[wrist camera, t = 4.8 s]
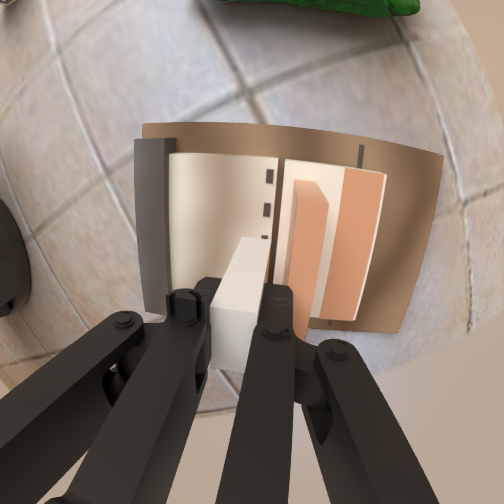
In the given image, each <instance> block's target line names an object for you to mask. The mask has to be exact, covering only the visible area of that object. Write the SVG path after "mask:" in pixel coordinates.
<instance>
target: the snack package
mask: <svg viewBox="0 0 504 504" xmlns="http://www.w3.org/2000/svg"><path fill="white" fill-rule="evenodd" d="M220 1H269V2H280V3H287V4H293V5H299V6H305V7H315V8H321V9H327V10H334V11H341V12H347V13H352V14H357V15H361V16H366V17H378V18H385V17H392V16H409V15H413V14H416V13H418V12H419V10H420V2H419V0H220Z"/></svg>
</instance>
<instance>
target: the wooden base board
mask: <svg viewBox="0 0 504 504" xmlns="http://www.w3.org/2000/svg"><path fill="white" fill-rule="evenodd" d="M443 158H444V155H440V154H436V153H433V152H429V151H425V150H421V149H417V148H413V147H409V146H405V145H401V144H396V143H391V142H387V141H382V140H377V139H372V138H367V137H361V136H355V135H349V134H343V133H337V132H330V131H323V130H315V129H307V128H298V127H288V126H277V125H265V124H249V123H225V122H170V123H147V124H143V125H142V139H134V187H135V212H136V229H137V243H138V254H139V265H140V274H141V283H142V291H143V299H144V306H145V312H150V313H155V314H161V315H167V308H166V297H165V295H167V294H168V293H169V292H171V291H173V290H176V289H181V288H190V289H194V287H195V285H196V284H197V282H198V281H199V280H201V279H202V278H204V277H206V276H207V277H214V278H222V279H223V277H224V274H225V272H226V270H227V268H228V266H229V264H230V261H231V259H232V257H233V255H234V253H235V251H236V248H237V246H238V244H239V242H240V240H241V238H242V237H249V238H259V239H268V240H271V249H270V258H269V268H268V278H267V283H270V284H273V279H274V269H275V260H276V251H277V241H278V231H279V221H280V211H281V201H282V190H283V179H284V168H285V159H291V160H301V161H309V162H318V163H325V164H333V165H340V166H347V167H353V168H359V169H365V170H371V171H377V172H382V173H384V174H386V175H387V177H386V184H385V191H384V197H383V203H382V208H381V214H380V219H379V224H378V230H377V235H376V239H375V244H374V249H373V253H372V258H371V262H370V266H369V270H368V274H367V278H366V282H365V286H364V290H363V294H362V297H361V301H360V305H359V308H358V312H357V315H356V319H355V320H353V321H345V320H331V319H319V318H317V317H310V318H309V323H308V328H312V329H325V330H340V331H357V332H378V333H398V332H399V329H400V327H401V324H402V321H403V319H404V316H405V313H406V310H407V308H408V305H409V302H410V299H411V296H412V293H413V290H414V287H415V284H416V281H417V277H418V274H419V271H420V267H421V264H422V261H423V257H424V253H425V250H426V246H427V242H428V238H429V234H430V230H431V225H432V221H433V216H434V212H435V207H436V202H437V196H438V191H439V185H440V179H441V172H442V166H443Z"/></svg>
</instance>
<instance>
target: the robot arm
mask: <svg viewBox="0 0 504 504" xmlns="http://www.w3.org/2000/svg"><path fill="white" fill-rule="evenodd" d="M270 249H271V240H268V239H259V238H249V237H242V238H241V240H240V242H239V244H238V246H237V248H236V251H235V253H234V255H233V257H232V259H231V261H230V264H229V266H228V268H227V270H226V272H225V274H224V277H223V279H222V278H214V277H207V276H206V277H204V278H202V279H201V280H199V281H198V282H197V284H196V285H195V287H194V289H190V288H181V289H176V290H173V291H171V292H169V293H168V294H167V295H165V297H166V308H167V318H166V320H165V321H164V322H161V323H143V319H142V317H141V315H139V314H138V313H136V312H133V311H120V312H116V313H114V314H112V315H110V316H109V317H107V318H106V319H105V320H103V321H102V322H100V323H99V324H98V325H96V326H95V327H94V328H92V329H91V330H90V331H88V332H87V333H86V334H84V335H83V336H82V337H80V338H79V339H78V340H76V341H75V342H74V343H72V344H71V345H70V346H68V347H67V348H66V349H64V350H63V351H62V352H60V353H59V354H58V355H56V356H55V357H54V358H52V359H51V360H50V361H49V362H47V363H46V364H45V365H43V366H42V367H41V368H39V369H38V370H37V371H36V372H34V373H33V374H32V375H30V376H29V377H28V378H27V379H25V380H24V381H23V382H22V383H20V384H19V385H18V386H17V387H15V388H14V389H13V390H12V391H10V392H9V393H8V394H7V395H5V396H4V397H3V398H2V399H1V400H0V504H36V503H37V502H38V501H39V500H40V499H41V498H42V497H43V496H44V495H45V494H46V493H47V492H48V491H49V490H50V489H51V488H52V487H53V486H54V485H55V484H56V483H57V482H58V481H59V480H60V479H61V478H62V477H63V476H64V475H65V473H66V472H67V471H68V470H69V469H70V468H71V467H72V466H73V465H74V464H75V463H76V462H77V461H78V460H79V459H80V458H81V457H82V456H83V455H84V454H85V452H86V451H87V450H88V449H89V448H90V449H89V450H88V452H87V454H86V456H85V458H84V460H83V461H82V463H81V465H80V467H79V469H78V471H77V473H76V475H75V477H74V478H73V480H72V482H71V484H70V486H69V488H68V490H67V491H66V493H65V494H64V495H63V496H61V497H56V498H51V499H49V500H48V501H47V502H45V503H44V504H166V502H167V498H168V495H169V492H170V489H171V486H172V483H173V480H174V477H175V474H176V471H177V468H178V465H179V462H180V459H181V456H182V453H183V450H184V447H185V444H186V441H187V438H188V435H189V432H190V429H191V426H192V423H193V420H194V417H195V414H196V411H197V408H198V405H199V402H200V399H201V396H202V393H203V390H204V387H205V384H206V381H207V376H208V371H207V367H208V364H209V362H211V368H214V369H220V370H227V371H233V372H240V373H244V377H243V382H242V387H241V391H240V396H239V401H238V405H237V410H236V415H235V419H234V424H233V428H232V433H231V437H230V441H229V446H228V450H227V455H226V459H225V464H224V468H223V473H222V477H221V481H220V486H219V490H218V494H217V498H216V502H215V504H288V494H289V481H290V466H291V450H292V431H293V407H294V402H296V403H299V404H301V405H302V411H303V414H304V417H305V420H306V424H307V427H308V430H309V433H310V437H311V440H312V443H313V447H314V450H315V453H316V457H317V459H318V463H319V467H320V469H321V473H322V476H323V479H324V483H325V486H326V490H327V493H328V496H329V499H330V503H331V504H439V502H438V500H437V498H436V495H435V493H434V491H433V489H432V487H431V485H430V483H429V481H428V480H427V477H426V475H425V473H424V471H423V469H422V467H421V466H420V463H419V462H418V459H417V457H416V456H415V454H414V452H413V450H412V448H411V446H410V444H409V442H408V440H407V438H406V437H405V435H404V433H403V431H402V429H401V427H400V425H399V423H398V421H397V420H396V418H395V416H394V414H393V412H392V410H391V409H390V407H389V405H388V403H387V401H386V400H385V398H384V396H383V394H382V392H381V391H380V389H379V387H378V385H377V384H376V382H375V380H374V378H373V377H372V375H371V373H370V371H369V370H368V368H367V366H366V364H365V363H364V361H363V359H362V357H361V356H360V354H359V352H358V351H357V349H356V348H355V347H354V346H353V345H352V344H350V343H348V342H347V341H343V340H340V339H329V340H324V341H323V342H321V343H320V344H319V345H318V346H314V345H311V344H308V343H306V342H304V341H302V340H301V339H299V338H298V337H297V336H296V335H295V333H294V330H293V291H292V290H291V289H290V287H289V286H288V285H279V284H270V283H267V278H268V268H269V258H270ZM30 285H31V280H30V269H29V263H28V258H27V254H26V251H25V247H24V244H23V241H22V238H21V235H20V233H19V230H18V228H17V226H16V223H15V221H14V219H13V217H12V215H11V214H10V212H9V210H8V209H7V207H6V206H5V204H4V203H3V202H2V200H1V199H0V318H1V317H4V316H8V315H10V314H12V313H14V312H15V311H16V310H18V309H19V308H20V307H21V306H22V305H23V304H25V302H26V301H27V299H28V297H29V293H30ZM114 364H116V366H115V367H114V368H113V369H111V370H110V368H111V367H112V366H113V365H114Z"/></svg>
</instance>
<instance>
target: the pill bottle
mask: <svg viewBox="0 0 504 504" xmlns="http://www.w3.org/2000/svg"><path fill="white" fill-rule="evenodd" d="M15 1H16V0H0V5H10V4H12V3H14V2H15Z"/></svg>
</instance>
